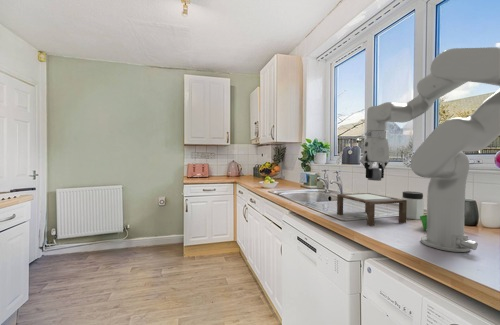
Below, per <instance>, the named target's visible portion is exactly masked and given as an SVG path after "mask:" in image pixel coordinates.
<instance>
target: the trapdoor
mask: <svg viewBox="0 0 500 325" xmlns="http://www.w3.org/2000/svg"><path fill="white" fill-rule="evenodd" d="M353 194H354V195H346V196H351V197H355V198H359V199H364V200H368V201H383V200H395V199H391V198H387V197H388V196H387V197H382V196H383V195H382V196H377V195H378V194H376V195H371V194H372V193H371V194H358V193H353Z"/></svg>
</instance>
